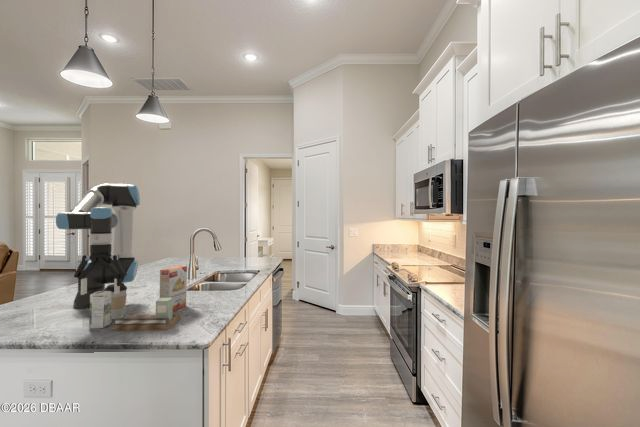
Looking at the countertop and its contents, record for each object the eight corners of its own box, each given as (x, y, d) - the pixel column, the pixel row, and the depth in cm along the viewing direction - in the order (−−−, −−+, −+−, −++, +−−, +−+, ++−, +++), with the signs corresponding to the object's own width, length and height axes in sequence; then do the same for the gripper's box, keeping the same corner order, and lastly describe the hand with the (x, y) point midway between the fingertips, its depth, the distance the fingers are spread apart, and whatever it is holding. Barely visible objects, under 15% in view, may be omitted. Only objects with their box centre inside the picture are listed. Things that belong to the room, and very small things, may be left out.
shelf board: (112, 330, 133) (112, 319, 133) (131, 319, 147) (131, 309, 147) (167, 329, 134) (167, 318, 134) (180, 318, 148) (180, 308, 148)
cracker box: (169, 313, 156) (170, 270, 156) (158, 313, 157) (158, 269, 157) (187, 305, 169) (187, 265, 169) (176, 305, 170) (177, 265, 171)
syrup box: (97, 324, 141) (97, 290, 141) (111, 323, 141) (111, 290, 141) (88, 328, 135) (89, 293, 135) (103, 328, 135) (104, 293, 135)
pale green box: (155, 322, 138) (155, 300, 138) (160, 318, 143) (160, 297, 143) (167, 322, 138) (167, 300, 138) (172, 318, 143) (172, 297, 143)
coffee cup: (110, 321, 145) (110, 287, 145) (100, 317, 149) (100, 284, 149) (130, 315, 152) (131, 283, 152) (120, 312, 157) (121, 281, 157)
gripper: (63, 244, 134) (63, 296, 133) (126, 244, 135) (126, 295, 135) (76, 243, 141) (76, 292, 141) (135, 242, 142) (135, 291, 142)
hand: (100, 294), depth 138 cm, fingers open, 13 cm apart
